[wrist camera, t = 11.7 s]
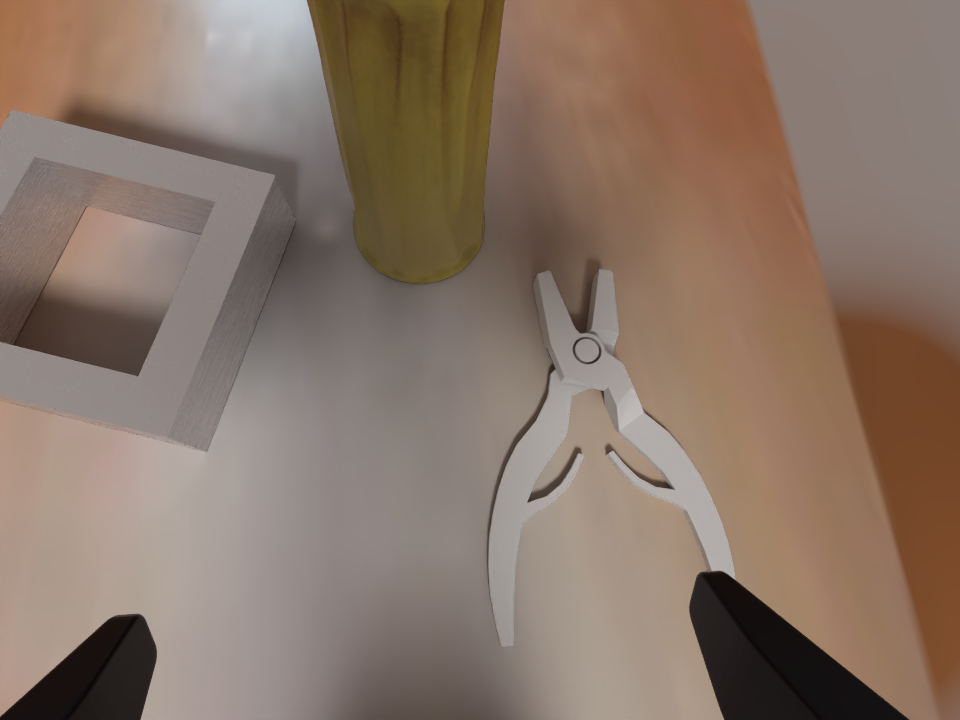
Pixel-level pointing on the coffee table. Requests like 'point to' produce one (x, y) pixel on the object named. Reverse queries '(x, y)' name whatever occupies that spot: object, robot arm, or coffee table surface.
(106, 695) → the robot arm
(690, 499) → the pliers
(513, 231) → the coffee table surface
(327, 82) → the vase
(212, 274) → the socket block
